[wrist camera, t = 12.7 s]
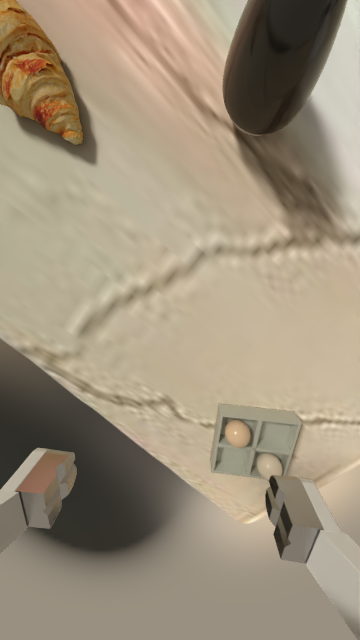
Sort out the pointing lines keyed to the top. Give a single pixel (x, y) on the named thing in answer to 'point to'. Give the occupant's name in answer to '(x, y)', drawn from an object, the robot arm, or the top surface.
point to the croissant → (35, 75)
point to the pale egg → (268, 465)
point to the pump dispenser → (277, 60)
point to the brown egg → (237, 433)
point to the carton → (253, 439)
